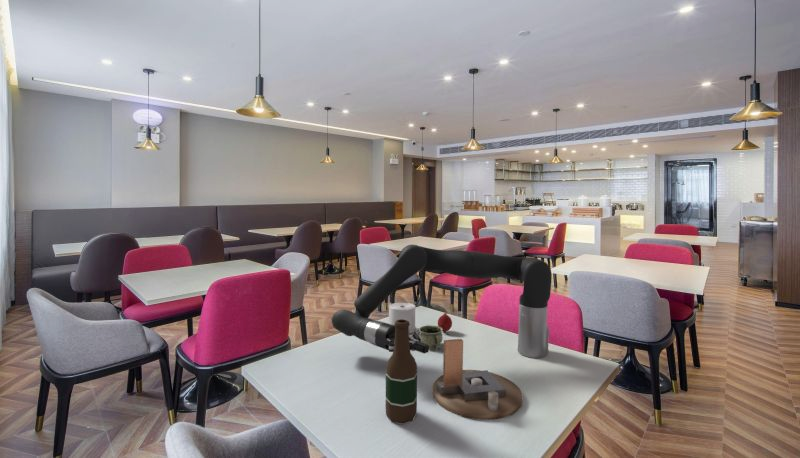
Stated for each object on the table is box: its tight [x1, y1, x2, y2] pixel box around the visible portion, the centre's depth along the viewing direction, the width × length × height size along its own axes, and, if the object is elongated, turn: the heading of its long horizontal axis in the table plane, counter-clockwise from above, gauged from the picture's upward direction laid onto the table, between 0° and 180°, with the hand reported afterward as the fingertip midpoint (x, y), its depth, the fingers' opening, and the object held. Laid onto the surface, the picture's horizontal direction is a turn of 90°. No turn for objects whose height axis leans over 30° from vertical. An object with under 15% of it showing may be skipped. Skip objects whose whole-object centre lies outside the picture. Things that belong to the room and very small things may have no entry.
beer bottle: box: [385, 319, 418, 425], centre depth 94 cm, size 8×8×24 cm
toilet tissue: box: [388, 301, 416, 335], centre depth 156 cm, size 11×12×10 cm
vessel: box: [418, 324, 444, 351], centre depth 140 cm, size 12×9×6 cm
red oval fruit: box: [437, 312, 453, 333], centre depth 153 cm, size 6×6×8 cm
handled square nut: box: [437, 338, 506, 401], centre depth 104 cm, size 17×11×14 cm
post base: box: [432, 369, 523, 421], centre depth 105 cm, size 24×24×6 cm
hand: (427, 349), depth 108 cm, fingers closed
